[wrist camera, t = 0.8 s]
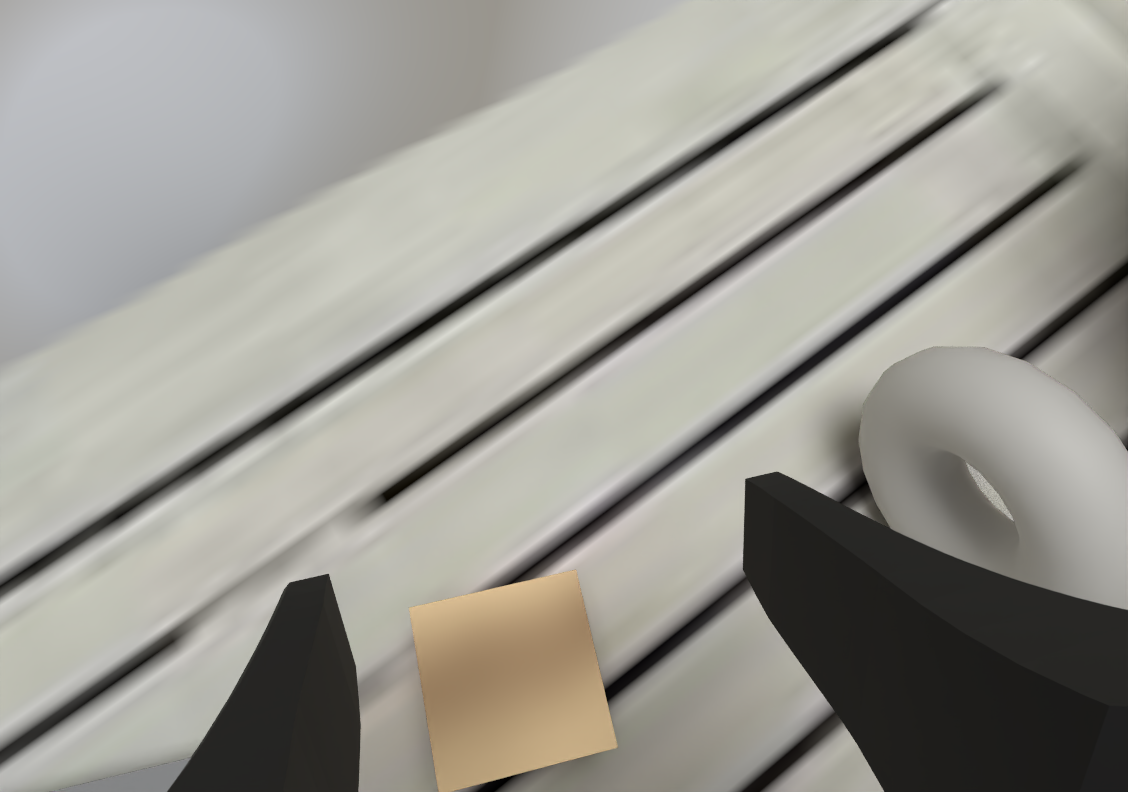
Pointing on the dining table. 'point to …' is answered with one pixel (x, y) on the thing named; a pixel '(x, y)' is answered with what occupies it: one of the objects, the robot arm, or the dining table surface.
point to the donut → (1000, 470)
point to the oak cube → (510, 681)
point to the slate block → (135, 780)
